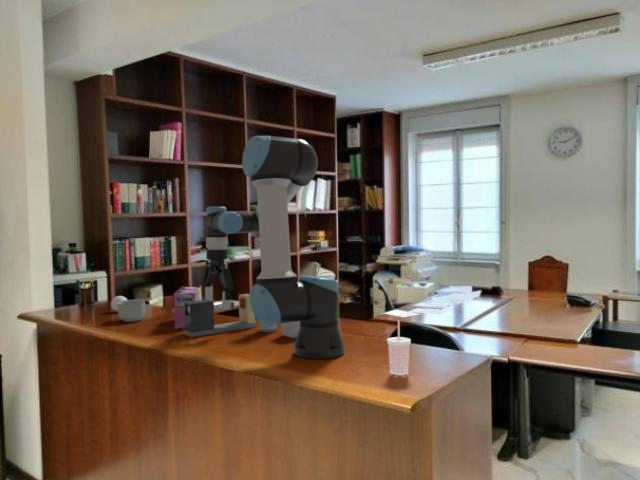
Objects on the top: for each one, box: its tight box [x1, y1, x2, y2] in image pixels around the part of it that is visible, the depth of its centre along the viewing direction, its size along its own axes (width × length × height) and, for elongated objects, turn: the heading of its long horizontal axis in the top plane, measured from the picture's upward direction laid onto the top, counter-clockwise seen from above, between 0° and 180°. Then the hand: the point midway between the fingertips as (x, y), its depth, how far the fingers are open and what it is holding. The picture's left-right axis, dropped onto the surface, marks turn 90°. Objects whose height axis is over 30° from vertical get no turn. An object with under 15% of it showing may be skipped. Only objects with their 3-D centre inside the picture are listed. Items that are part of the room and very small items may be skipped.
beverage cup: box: [386, 319, 412, 375], centre depth 133 cm, size 6×6×14 cm
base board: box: [183, 321, 257, 338], centre depth 189 cm, size 26×7×2 cm, turn 129°
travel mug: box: [259, 322, 278, 334], centre depth 187 cm, size 6×7×20 cm
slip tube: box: [187, 300, 235, 314], centre depth 187 cm, size 17×3×3 cm, turn 129°
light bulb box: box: [281, 321, 300, 339], centre depth 181 cm, size 11×7×11 cm, turn 135°
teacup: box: [117, 298, 146, 323], centre depth 212 cm, size 14×11×8 cm
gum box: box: [173, 285, 203, 330], centre depth 205 cm, size 24×8×14 cm, turn 6°
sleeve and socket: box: [184, 293, 256, 332], centre depth 189 cm, size 26×6×10 cm, turn 129°
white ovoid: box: [110, 295, 128, 313], centre depth 230 cm, size 10×7×7 cm
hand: (217, 306), depth 189 cm, fingers open, 13 cm apart
